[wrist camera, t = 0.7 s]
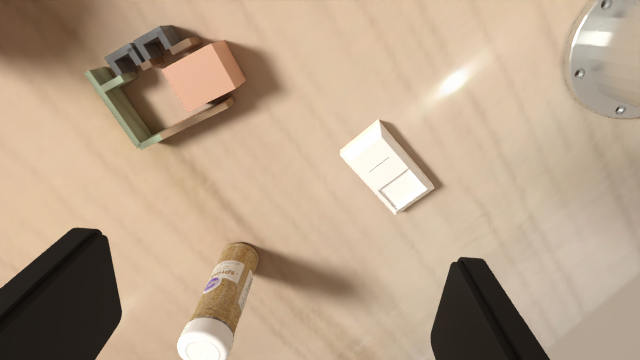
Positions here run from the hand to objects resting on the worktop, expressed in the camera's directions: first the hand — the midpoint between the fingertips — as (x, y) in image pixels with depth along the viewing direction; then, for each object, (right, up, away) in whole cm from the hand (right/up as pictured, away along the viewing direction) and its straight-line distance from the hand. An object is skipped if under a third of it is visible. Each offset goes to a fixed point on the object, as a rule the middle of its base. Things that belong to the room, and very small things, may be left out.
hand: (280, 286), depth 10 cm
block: (-9, +13, +24) cm, 29 cm away
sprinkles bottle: (-8, -6, +33) cm, 35 cm away
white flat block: (+8, +5, +28) cm, 29 cm away
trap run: (-13, +12, +25) cm, 31 cm away
